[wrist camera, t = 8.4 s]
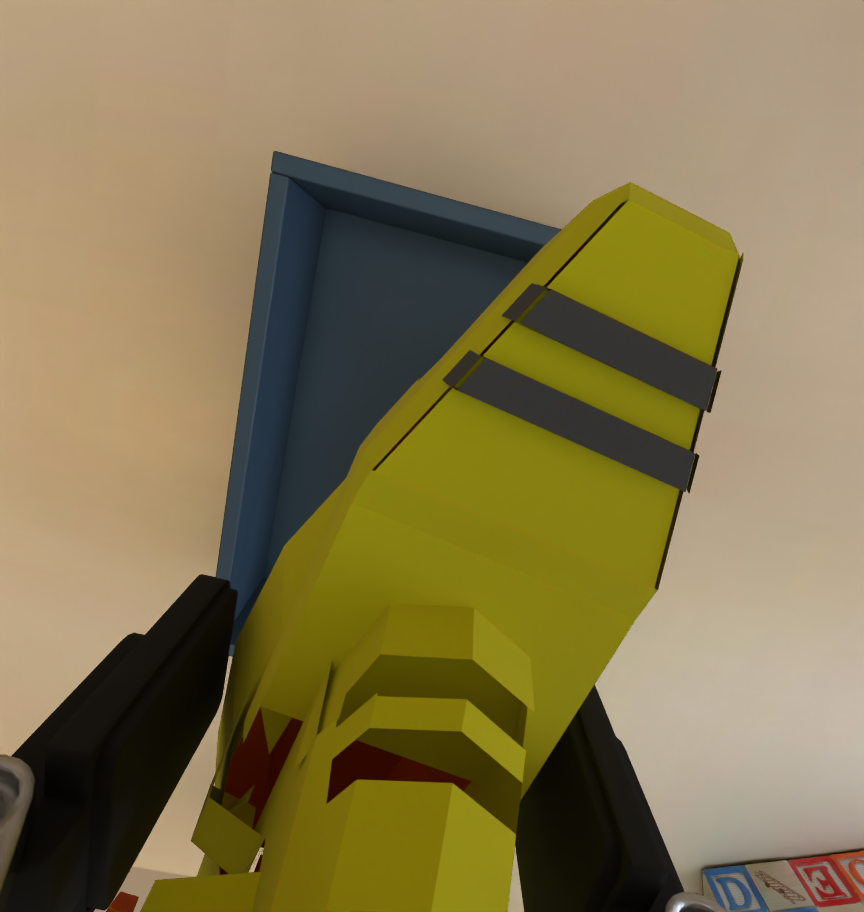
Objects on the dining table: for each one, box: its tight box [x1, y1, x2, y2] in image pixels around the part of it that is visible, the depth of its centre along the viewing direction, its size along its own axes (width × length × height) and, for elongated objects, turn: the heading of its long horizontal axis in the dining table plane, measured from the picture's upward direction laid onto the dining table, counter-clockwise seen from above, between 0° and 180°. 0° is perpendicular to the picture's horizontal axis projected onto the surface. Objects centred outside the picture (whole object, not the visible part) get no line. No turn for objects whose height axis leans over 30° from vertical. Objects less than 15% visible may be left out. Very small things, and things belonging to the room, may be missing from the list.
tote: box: [216, 151, 562, 657], centre depth 24 cm, size 22×15×7 cm
